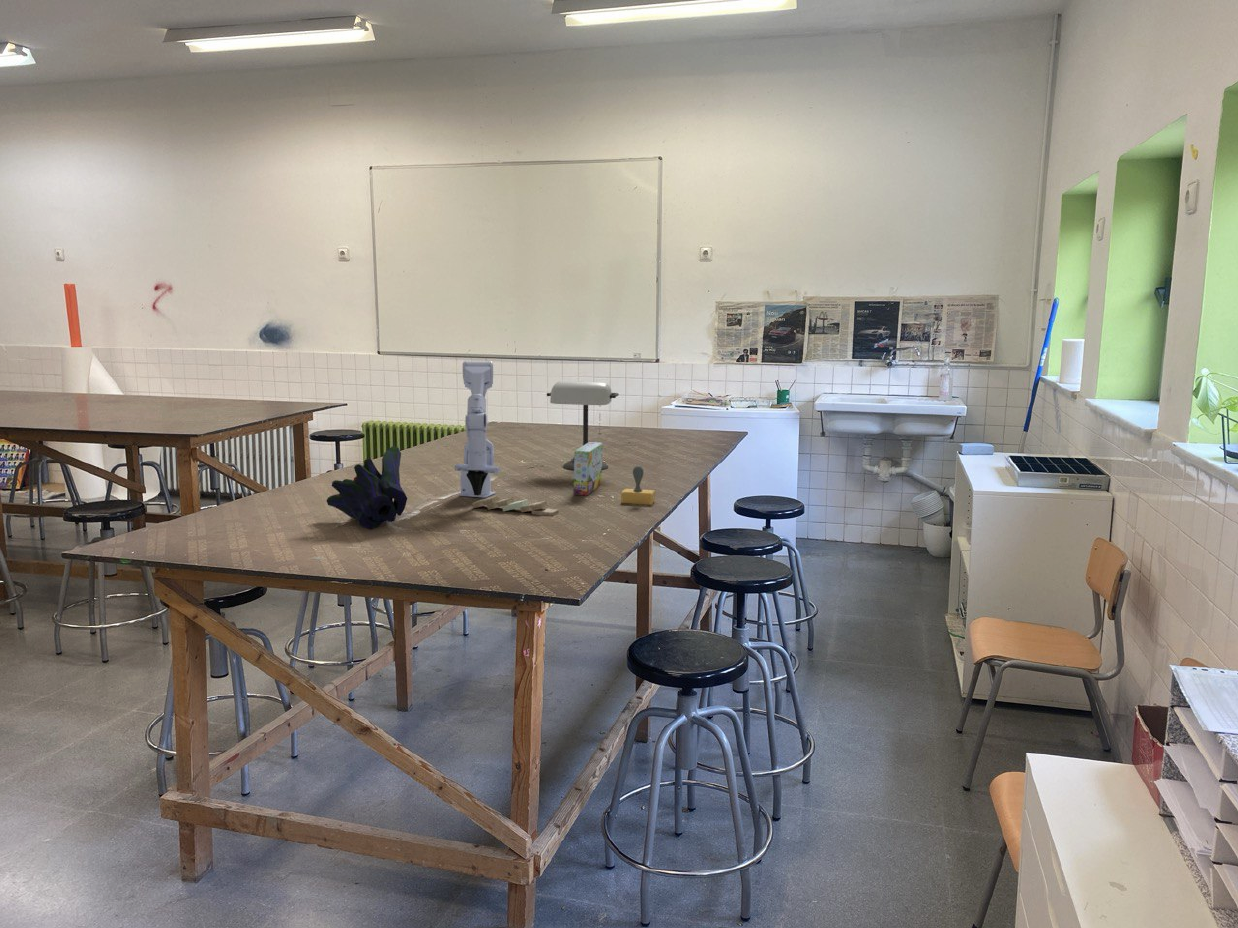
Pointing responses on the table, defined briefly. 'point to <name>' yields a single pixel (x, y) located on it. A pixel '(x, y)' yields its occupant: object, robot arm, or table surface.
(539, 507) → the domino
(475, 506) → the domino
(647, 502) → the rubber stamp
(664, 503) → the table surface
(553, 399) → the lamp
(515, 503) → the domino
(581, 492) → the snack box
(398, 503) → the dark blue lobed piece
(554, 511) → the domino
